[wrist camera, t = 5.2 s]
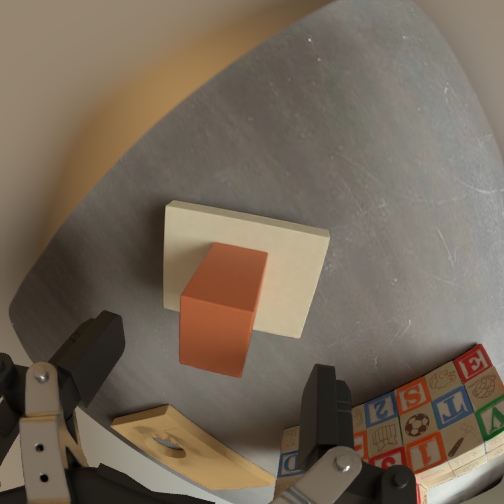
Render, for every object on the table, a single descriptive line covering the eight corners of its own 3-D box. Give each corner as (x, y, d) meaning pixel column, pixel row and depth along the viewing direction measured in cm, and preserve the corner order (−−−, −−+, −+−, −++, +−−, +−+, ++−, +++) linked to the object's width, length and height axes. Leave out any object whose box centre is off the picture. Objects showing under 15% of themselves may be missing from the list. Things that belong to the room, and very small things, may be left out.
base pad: (114, 418, 32) (109, 426, 31) (169, 404, 28) (164, 414, 27) (212, 483, 38) (210, 490, 36) (275, 476, 33) (274, 485, 32)
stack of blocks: (481, 339, 19) (534, 451, 8) (487, 374, 21) (526, 471, 10) (281, 429, 27) (266, 535, 16) (311, 451, 29) (304, 544, 18)
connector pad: (176, 288, 21) (126, 365, 14) (181, 194, 18) (111, 246, 11) (300, 315, 21) (295, 408, 14) (326, 222, 18) (342, 296, 10)
